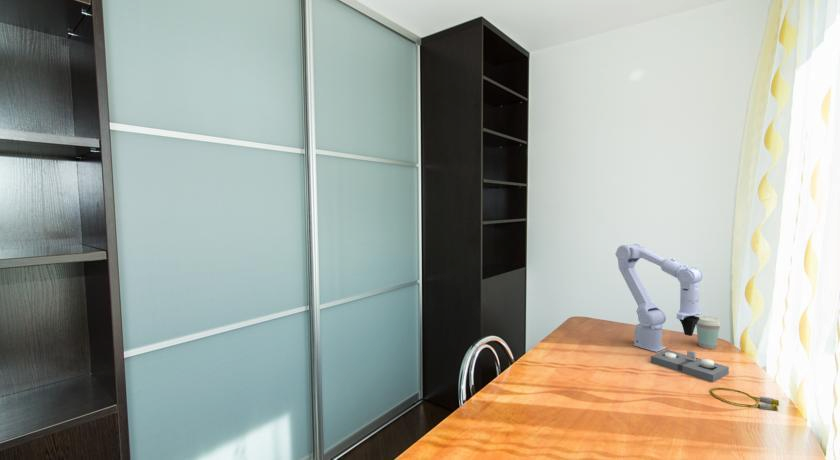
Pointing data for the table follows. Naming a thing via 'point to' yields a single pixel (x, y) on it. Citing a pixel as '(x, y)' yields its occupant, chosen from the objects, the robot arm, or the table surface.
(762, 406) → the extension cord
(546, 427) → the table surface
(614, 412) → the table surface
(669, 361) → the switch panel
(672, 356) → the button
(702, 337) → the coffee cup
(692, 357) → the slider tab
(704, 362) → the button
